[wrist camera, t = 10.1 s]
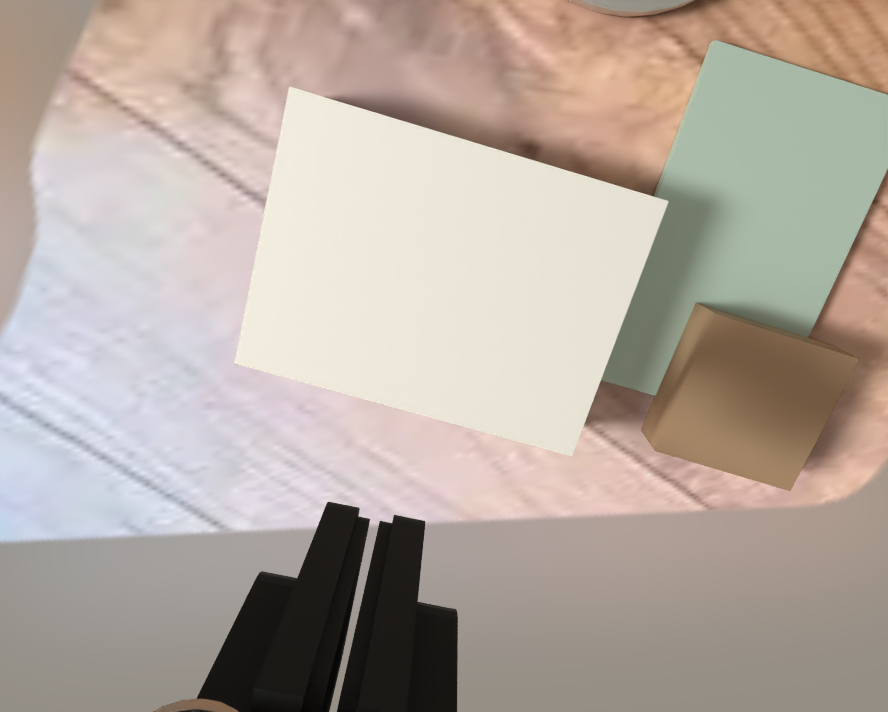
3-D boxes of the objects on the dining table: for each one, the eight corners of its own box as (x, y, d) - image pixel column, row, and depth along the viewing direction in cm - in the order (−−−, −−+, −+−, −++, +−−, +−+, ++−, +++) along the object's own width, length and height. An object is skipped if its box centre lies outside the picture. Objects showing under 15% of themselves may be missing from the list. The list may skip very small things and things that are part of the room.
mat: (710, 42, 28) (715, 39, 27) (908, 105, 29) (918, 104, 28) (587, 373, 33) (589, 377, 32) (760, 422, 33) (766, 427, 33)
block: (859, 359, 29) (828, 344, 31) (715, 313, 28) (695, 302, 31) (790, 491, 31) (766, 467, 33) (654, 450, 30) (640, 429, 33)
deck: (311, 97, 29) (289, 86, 25) (642, 196, 30) (668, 200, 26) (260, 340, 32) (234, 363, 29) (559, 422, 33) (571, 456, 30)
